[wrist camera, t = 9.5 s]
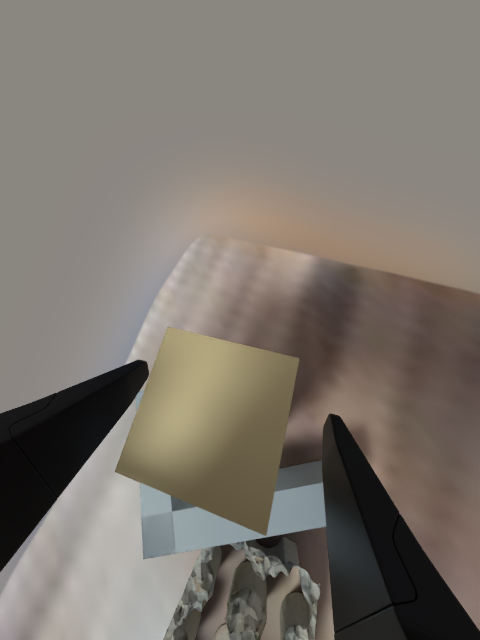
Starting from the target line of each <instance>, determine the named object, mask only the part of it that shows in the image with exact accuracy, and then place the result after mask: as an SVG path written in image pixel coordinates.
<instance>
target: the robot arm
mask: <svg viewBox="0 0 480 640" xmlns="http://www.w3.org/2000/svg"><path fill="white" fill-rule="evenodd" d="M148 376H149V370H148V365H147V362H146V361H143V360H136V361H134V362H131V363H129V364H126V365H124V366H121V367H119V368H117V369H114V370H112V371H109V372H107V373H104V374H102V375H99V376H97V377H94V378H92V379H89V380H87V381H84V382H82V383H79V384H77V385H74V386H72V387H69V388H67V389H65V390H62V391H59V392H58V393H54V394H52V395H50V396H47V397H45V398H42V399H39V400H37V401H34V402H32V403H29V404H26V405H23V406H21V407H18V408H15V409H12V410H9V411H6V412H4V413H1V414H0V572H1V571H2V569H3V568H4V567H5V566H6V564H7V563H8V562H9V561H10V559H11V558H12V557H13V555H14V554H15V553H16V552H17V550H18V549H19V548H20V546H21V545H22V544H23V542H24V541H25V540H26V539H27V537H28V536H29V535H30V534H31V532H32V531H33V530H34V528H35V527H36V526H37V524H38V523H39V522H40V521H41V519H42V518H43V517H44V516H45V514H46V513H47V511H48V510H49V509H50V508H51V507H52V505H53V504H54V503H55V501H56V500H57V498H58V497H59V496H60V495H61V493H62V492H63V491H64V490H65V488H66V487H67V486H68V484H69V483H70V482H71V481H72V479H73V478H74V477H75V475H76V474H77V473H78V472H79V470H80V469H81V468H82V466H83V465H84V464H85V463H86V461H87V460H88V459H89V457H90V456H91V455H92V454H93V452H94V451H95V450H96V448H97V447H98V446H99V445H100V443H101V442H102V441H103V439H104V438H105V437H106V436H107V434H108V433H109V432H110V430H111V429H112V428H113V427H114V425H115V424H116V423H117V421H118V420H119V419H120V418H121V416H122V415H123V414H124V412H125V411H126V410H127V409H128V407H129V406H130V405H131V403H132V402H133V400H134V399H135V397H136V396H137V394H138V392H139V391H140V389H141V388H142V386H143V384H144V383H145V381H146V380H147V378H148ZM322 477H323V491H324V504H325V517H326V530H327V544H328V557H329V570H330V583H331V596H332V610H333V623H334V632H335V634H334V638H335V640H480V631H479V629H478V628H477V627H476V625H475V624H474V622H473V621H472V620H471V618H470V617H469V615H468V614H467V612H466V611H465V610H464V608H463V607H462V605H461V604H460V602H459V601H458V600H457V598H456V597H455V595H454V594H453V593H452V591H451V590H450V588H449V587H448V585H447V584H446V583H445V581H444V580H443V578H442V577H441V575H440V574H439V572H438V571H437V570H436V568H435V567H434V565H433V564H432V562H431V561H430V559H429V558H428V556H427V555H426V553H425V552H424V551H423V549H422V547H421V546H420V544H419V543H418V541H417V540H416V538H415V536H414V535H413V533H412V532H411V530H410V529H409V527H408V525H407V524H406V522H405V521H404V519H403V517H402V516H401V515H400V514H399V511H398V509H397V508H396V506H395V505H394V503H393V501H392V500H391V498H390V496H389V495H388V493H387V492H386V490H385V488H384V487H383V485H382V483H381V482H380V480H379V479H378V477H377V475H376V474H375V472H374V470H373V469H372V467H371V466H370V464H369V462H368V461H367V459H366V458H365V456H364V454H363V453H362V451H361V449H360V448H359V446H358V445H357V443H356V441H355V440H354V438H353V436H352V435H351V433H350V432H349V430H348V428H347V427H346V425H345V423H344V422H343V420H342V419H341V417H340V416H338V415H335V414H329V415H328V417H327V419H326V422H325V424H324V427H323V448H322Z"/></svg>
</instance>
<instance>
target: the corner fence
mask: <svg viewBox="0 0 480 640" xmlns="http://www.w3.org/2000/svg"><path fill="white" fill-rule="evenodd" d="M143 393H144V391H139V392H138V394H137V396H136V412H137V410H138V407H139V404H140V401H141V399H142V396H143ZM140 498H141V519H142V539H143V559H147V558H153V557H158V556H164V555H169V554H175V553H181V552H186V551H192V550H197V549H203V548H209V547H214V546H220V545H225V544H231V543H237V542H242V541H248V540H253V539H259V538H265V537H270V536H276V535H281V534H287V533H293V532H298V531H304V530H309V529H315V528H321V527H326V517H325V504H324V491H323V477H322V460H320V461H315V462H310V463H305V464H300V465H295V466H290V467H285V468H280V469H279V471H278V476H277V482H276V487H275V492H274V498H273V503H272V508H271V514H270V519H269V525H268V530H267V535H266V536H265V535H262V534H260V533H258V532H255V531H253V530H250V529H248V528H246V527H243V526H241V525H239V524H236V523H234V522H232V521H229V520H227V519H225V518H222V517H220V516H218V515H215V514H213V513H211V512H208V511H206V510H203V509H201V508H199V507H196V506H194V505H192V504H189V503H187V502H185V501H182V500H180V499H178V498H175V497H173V496H171V495H168V494H166V493H164V492H161V491H159V490H156V489H154V488H152V487H149V486H147V485H145V484H142V483H140Z"/></svg>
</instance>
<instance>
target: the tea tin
mask: <svg viewBox="0 0 480 640" xmlns="http://www.w3.org/2000/svg"><path fill="white" fill-rule="evenodd" d="M299 359H300V358H296V357H292V356H288V355H284V354H280V353H275V352H271V351H267V350H263V349H259V348H254V347H250V346H246V345H242V344H238V343H234V342H229V341H225V340H221V339H217V338H213V337H209V336H204V335H200V334H196V333H192V332H188V331H183V330H179V329H175V328H171V327H167V330H166V333H165V336H164V338H163V341H162V344H161V347H160V349H159V352H158V355H157V358H156V360H155V363H154V366H153V369H152V371H151V374H150V377H149V380H148V382H147V385H146V388H145V390H144V393H143V396H142V399H141V401H140V404H139V407H138V410H137V412H136V415H135V418H134V421H133V423H132V426H131V429H130V432H129V434H128V437H127V440H126V443H125V445H124V448H123V451H122V453H121V456H120V459H119V462H118V464H117V467H116V470H115V472H117V473H119V474H121V475H124V476H126V477H128V478H131V479H133V480H135V481H138V482H140V483H142V484H145V485H147V486H149V487H152V488H154V489H156V490H159V491H161V492H164V493H166V494H168V495H171V496H173V497H175V498H178V499H180V500H182V501H185V502H187V503H189V504H192V505H194V506H196V507H199V508H201V509H203V510H206V511H208V512H211V513H213V514H215V515H218V516H220V517H222V518H225V519H227V520H229V521H232V522H234V523H236V524H239V525H241V526H243V527H246V528H248V529H250V530H253V531H255V532H258V533H260V534H262V535H265V536H266V535H267V530H268V525H269V519H270V514H271V508H272V503H273V498H274V492H275V487H276V482H277V476H278V471H279V466H280V460H281V455H282V450H283V444H284V439H285V434H286V428H287V423H288V417H289V412H290V407H291V401H292V396H293V391H294V385H295V380H296V375H297V369H298V364H299Z"/></svg>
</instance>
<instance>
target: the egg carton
mask: <svg viewBox="0 0 480 640" xmlns="http://www.w3.org/2000/svg"><path fill="white" fill-rule="evenodd" d="M230 545H231V546H233V547H234V548H235V549H236V550H242V549H243V548H244V549H245V557H246V558H247V559H248V560H250V561H251V562H244V563H241V564H240V565H239V566H238V567H237V568H236V570H235V572H234V575H233V580H232V584H231V588H230V594H229V598H228V603H227V615H226V618H225V620H226V623H224V624H223V625H221V626H220V627H219V628H218V630H217V631H216V633H215V635H214V640H260V638H261V635H262V633H263V630H264V627H265V624H266V618H267V612H266V601H267V583H266V577H267V575H268V574H271V575H272V576H273V577H276V576H277V575H278V573H279V572H281V571H282V572H283V573H284V574H285V575H286V576H287V577H288V576H289V575H290V572H291V569H292V567H294V566H295V567H297V568H298V569H299V574H300V582H301V588H302V591H303V594H302V593H297V592H294V593H291V594H289V595H287V596H286V597H285V599H284V600H283V602H282V605H281V611H280V629H281V640H315V626H316V617H317V600H318V599H319V596H320V583H319V584H318V585H317V584H316V583H314V582H313V581H312V580H311V578H310V576H309V574H308V572H307V571H306V570H304V569H303V568H301V566H300V564H299V559H298V551H297V545H296V544H295V543H293V542H292V541H290V540H288V539H287V538H285V537H283V538H282V539H281V541H280V543H279V544H278V545H277V546H275V547H273V548H264V547H262V546H260V545H259V544H258V543H257V542H256V540H255V539H253V540H248V541H242V542H237V543H231V544H230ZM221 557H222V552H221V548H220V546H214V547H209V548H203V549H202V551H201V553H200V555H199V557H198V559H197V562H196V564H195V566H194V569H193V571H192V574H191V576H190V578H189V580H188V582H187V585H186V588H185V591H184V593H183V596H182V598H181V600H180V602H179V604H178V606H177V608H176V611H175V613H174V616H173V618H172V621H171V623H170V625H169V627H168V630H167V632H166V634H165V637H164V639H163V640H195V638H196V634H197V631H198V627H199V624H200V620H201V612H202V610H203V608H204V606H205V604H206V602H207V601H208V600H209V599H210V597H212V595H213V590H214V584H215V580H216V577H217V573H218V570H219V566H220V562H221Z"/></svg>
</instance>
